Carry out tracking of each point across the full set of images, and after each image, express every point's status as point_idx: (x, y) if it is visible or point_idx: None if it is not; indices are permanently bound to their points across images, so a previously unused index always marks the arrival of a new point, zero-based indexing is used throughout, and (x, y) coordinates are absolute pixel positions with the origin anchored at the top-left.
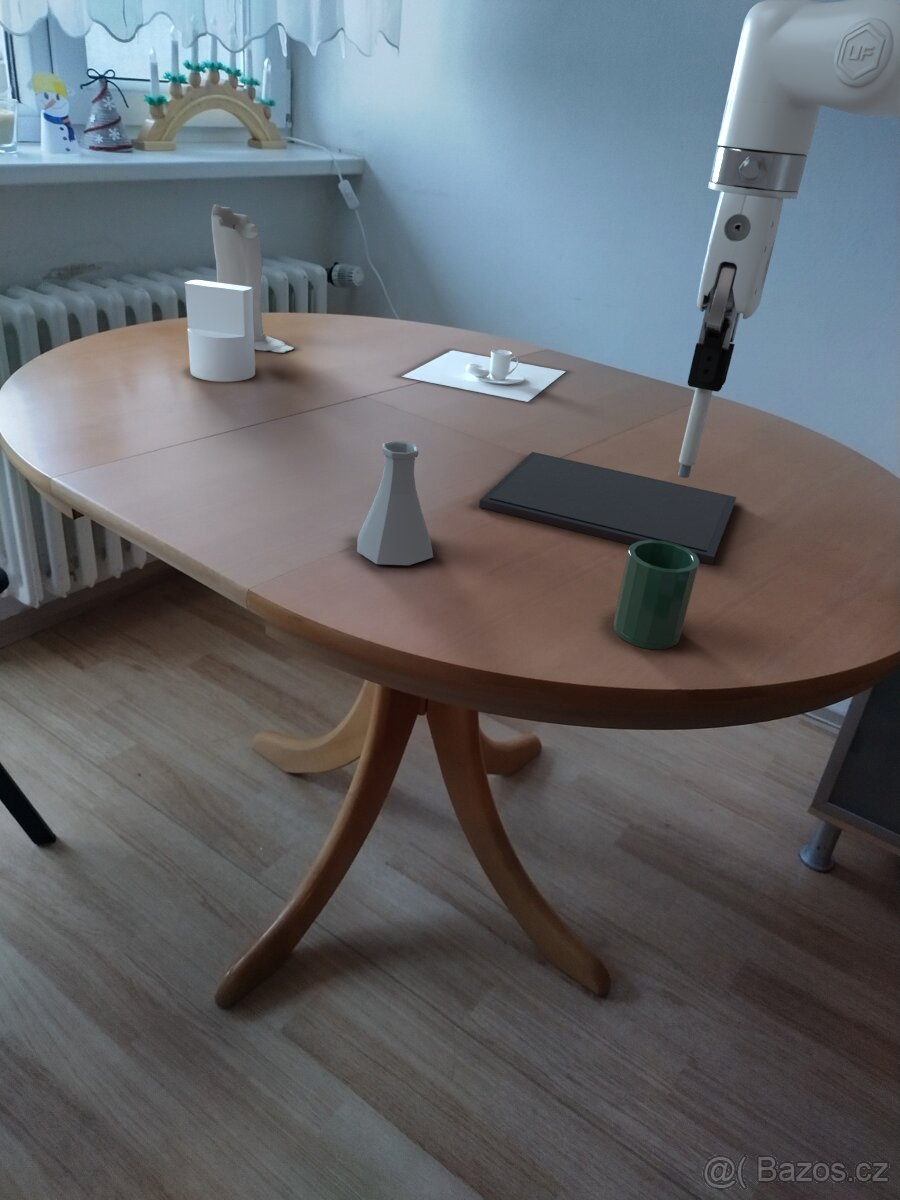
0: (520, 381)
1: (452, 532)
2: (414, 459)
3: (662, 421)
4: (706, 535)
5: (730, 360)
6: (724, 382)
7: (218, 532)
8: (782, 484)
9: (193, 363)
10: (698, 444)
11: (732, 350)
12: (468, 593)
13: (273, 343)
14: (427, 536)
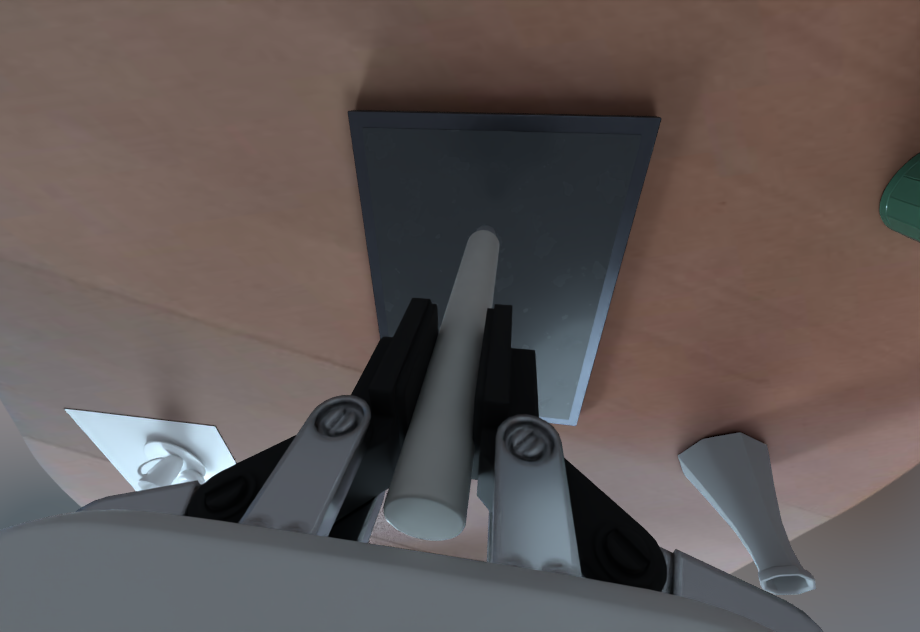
0: (167, 443)
1: (656, 426)
2: (790, 562)
3: (96, 277)
4: (572, 144)
5: (399, 344)
6: (429, 301)
7: (718, 547)
8: (167, 15)
9: None
10: (486, 249)
11: (398, 374)
12: (823, 390)
13: None
14: (747, 457)
